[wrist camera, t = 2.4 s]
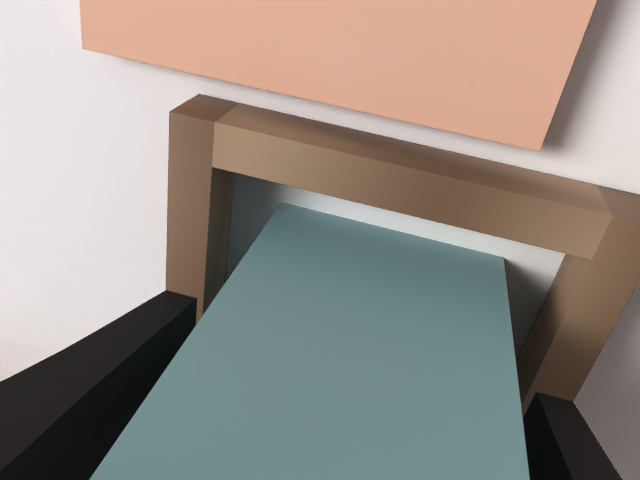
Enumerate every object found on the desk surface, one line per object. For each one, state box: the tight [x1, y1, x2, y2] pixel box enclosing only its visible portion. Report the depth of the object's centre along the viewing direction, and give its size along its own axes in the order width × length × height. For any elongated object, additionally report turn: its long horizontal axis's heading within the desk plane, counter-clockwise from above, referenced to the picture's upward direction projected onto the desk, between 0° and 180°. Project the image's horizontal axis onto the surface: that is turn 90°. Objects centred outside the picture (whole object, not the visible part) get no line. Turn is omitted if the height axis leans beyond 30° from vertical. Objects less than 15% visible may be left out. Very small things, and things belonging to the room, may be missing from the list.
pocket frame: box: [166, 94, 640, 418], centre depth 11 cm, size 8×8×1 cm
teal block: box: [89, 202, 530, 480], centre depth 9 cm, size 4×4×7 cm
